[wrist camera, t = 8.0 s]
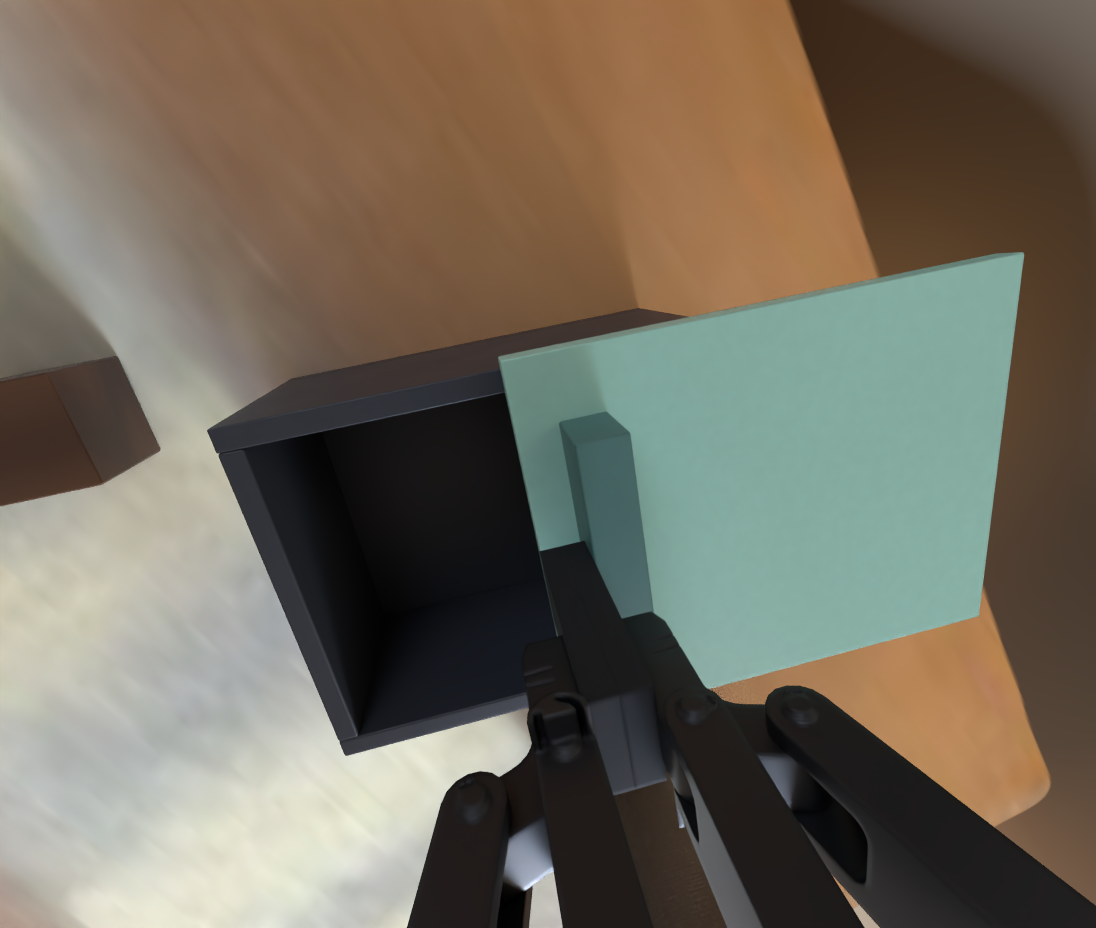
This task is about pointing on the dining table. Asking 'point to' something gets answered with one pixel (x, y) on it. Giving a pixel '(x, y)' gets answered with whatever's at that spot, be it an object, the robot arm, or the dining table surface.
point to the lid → (781, 462)
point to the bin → (402, 531)
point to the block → (69, 429)
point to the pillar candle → (666, 860)
